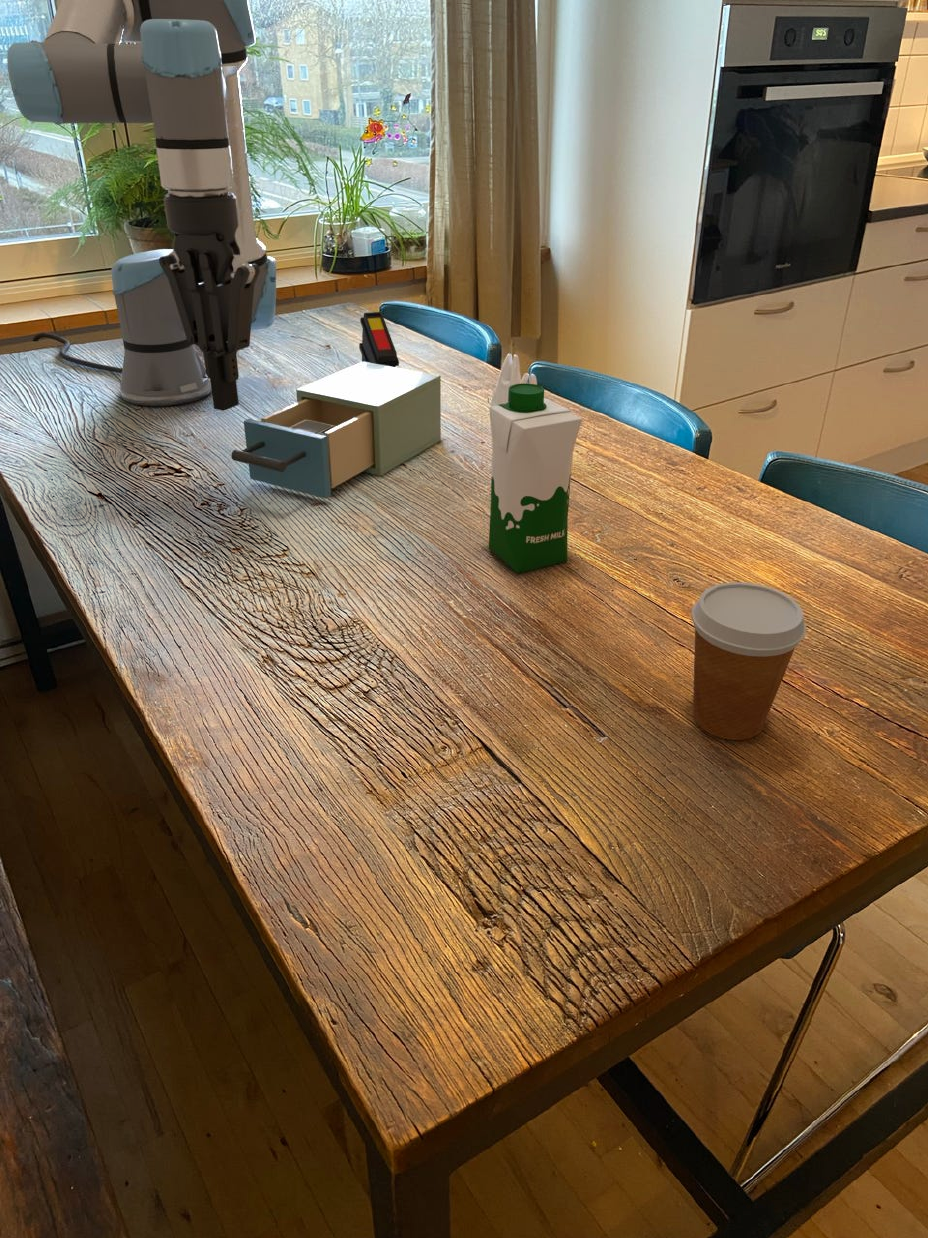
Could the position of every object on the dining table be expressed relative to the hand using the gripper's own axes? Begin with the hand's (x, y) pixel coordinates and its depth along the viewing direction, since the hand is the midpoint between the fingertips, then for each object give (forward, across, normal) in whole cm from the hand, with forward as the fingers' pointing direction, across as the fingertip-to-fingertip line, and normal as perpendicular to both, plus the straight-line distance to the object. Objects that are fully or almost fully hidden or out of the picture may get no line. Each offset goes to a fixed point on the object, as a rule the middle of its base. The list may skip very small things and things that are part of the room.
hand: (226, 406), depth 110 cm
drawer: (+14, 0, -15) cm, 20 cm away
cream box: (+13, 0, -17) cm, 21 cm away
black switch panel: (+15, +10, -47) cm, 51 cm away
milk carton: (+16, -36, -11) cm, 41 cm away
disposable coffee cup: (+16, -66, +9) cm, 69 cm away
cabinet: (+15, 0, -30) cm, 34 cm away
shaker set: (+15, -14, -51) cm, 55 cm away
